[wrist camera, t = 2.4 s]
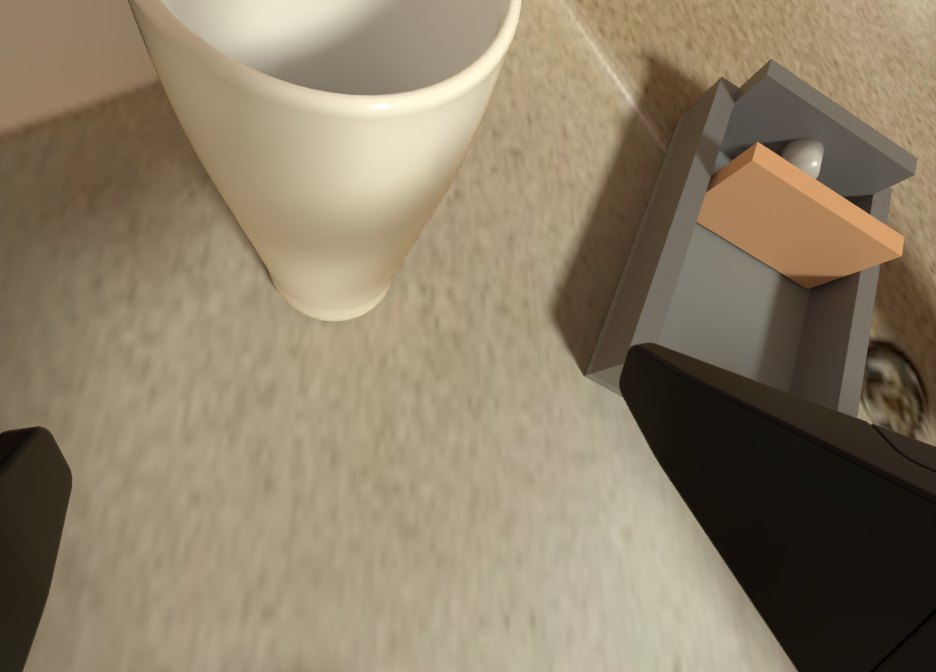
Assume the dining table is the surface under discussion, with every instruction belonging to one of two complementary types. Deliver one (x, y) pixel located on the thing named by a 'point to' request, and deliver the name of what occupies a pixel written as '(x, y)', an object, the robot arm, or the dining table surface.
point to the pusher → (793, 220)
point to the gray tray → (737, 272)
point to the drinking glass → (330, 124)
